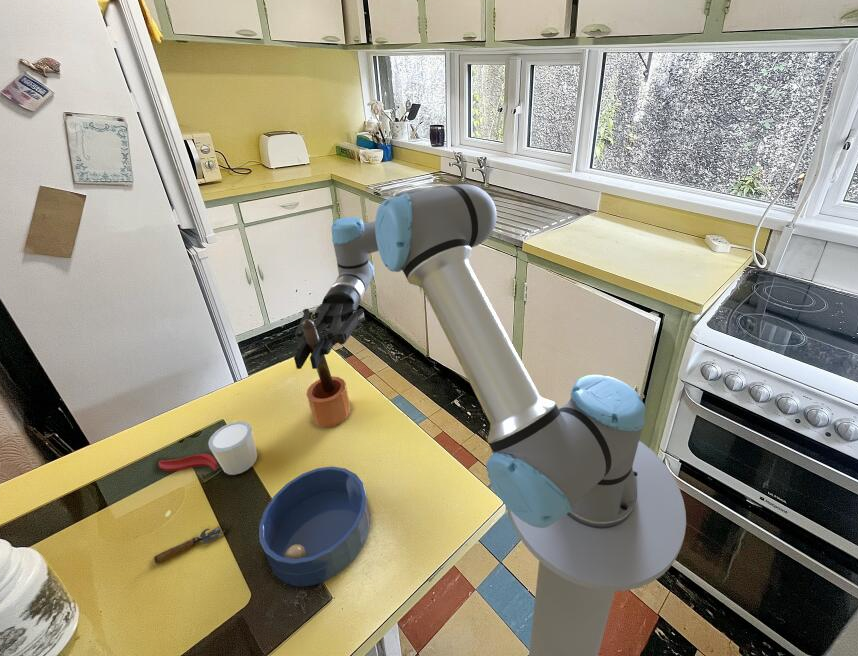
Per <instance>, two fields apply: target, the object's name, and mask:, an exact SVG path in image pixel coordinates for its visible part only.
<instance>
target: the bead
mask: <svg viewBox="0 0 858 656" xmlns="http://www.w3.org/2000/svg"><path fill="white" fill-rule="evenodd" d="M284 557H285V558H291V559H299V558H305V557H306V550H305V548H304V547H303V546H302V545H300V544H295V545H293V546H291V547H290V548H288V549H287V551H286V552H285V555H284Z"/></svg>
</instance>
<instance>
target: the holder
mask: <svg viewBox="0 0 858 656" xmlns="http://www.w3.org/2000/svg"><path fill="white" fill-rule="evenodd" d="M331 377H332V380H333V383H334V390H333V391H332V392H330V393H327V392H325V391H324V389H323V387H322V384H321V381H320V378H319V379H317V380H315V381H314V382H312V383H311V384H310V385H309V386H308V388H307V390H306V399H307V402H308V403H307V404H308V407H309V411H310V414H311V418H312V420H313V423H314V424H315V425H316V426H318V427H321V428H330V427H331V428H332V427H334V426H337V425H339V424H341V423H343V422H344V421H345V420H346V419H347V418H348V417H349V416H350V414H351V404H350V397H349V394H348V393H349V392H348V388H347V383H346V382H345V380H344V379H343V378H341V377H339V376H333V375H331Z"/></svg>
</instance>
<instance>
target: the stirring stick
mask: <svg viewBox="0 0 858 656" xmlns="http://www.w3.org/2000/svg"><path fill="white" fill-rule="evenodd" d="M301 326H302V329H303V332H304V335H305V338H306V341H307V344H308V347H309V349H310V352H311V353H310V355H311V354H312V353H313V351H314V349H315V348H316V346H317V344H318V343H319V341H320V336H318V334H317V331H316V327H315V324H314V321H312V320H311V319H306V320H304V321H303V322H302V324H301ZM316 372H317V374H318V378H319V379H320V381H321V384H322V387H323V389H324V391H325V392H327V393H330V392H332V391H333V390H334V383H333V380H332V377H331V376H332V374H331V371H330V368H329V365H328V362H327V358H326V355H324V356H323V358H322V360H321V362H320V364H319V365H318V367H317V369H316Z"/></svg>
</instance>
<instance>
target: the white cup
mask: <svg viewBox="0 0 858 656" xmlns="http://www.w3.org/2000/svg"><path fill="white" fill-rule="evenodd" d="M207 444H208V447H209V451H211V453H212V455H213V457H214V459H215V460H216V462H217V464H219V466H220V468H221V469H222V471H223V473H225V474H227V475H230V476H231V475H232V476H235V475H239V474H242V473H244V472H246V471H248V470H249V469H250V468H252V467H253V466H254V465H255V463H256V461H257V459H258V453H257V448H256V443H255V438H254V433H253V428H252V426H251V424H250V423H249V422H246V421H233V422H230V423H228V424H225V425H223V426H221V427H219V429H217V430H215V432H213V434H212V435H211V436H210V437H209V439H208V443H207Z"/></svg>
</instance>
